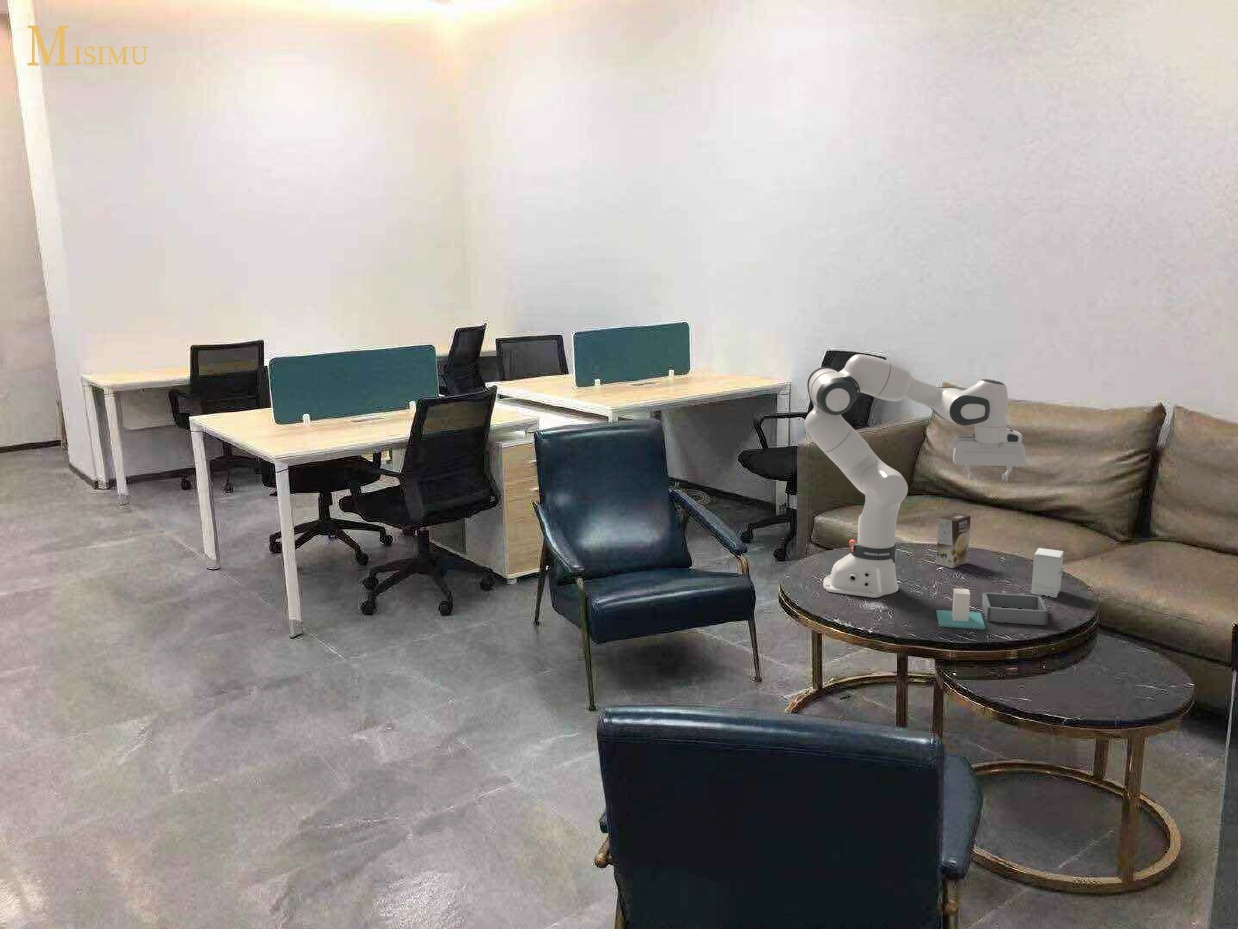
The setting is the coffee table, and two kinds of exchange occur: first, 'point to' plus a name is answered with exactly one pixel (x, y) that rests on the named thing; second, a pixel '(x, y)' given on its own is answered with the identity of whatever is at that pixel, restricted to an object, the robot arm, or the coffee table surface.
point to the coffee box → (953, 540)
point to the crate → (1012, 615)
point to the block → (961, 604)
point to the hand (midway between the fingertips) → (987, 479)
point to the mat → (947, 621)
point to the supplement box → (1047, 572)
